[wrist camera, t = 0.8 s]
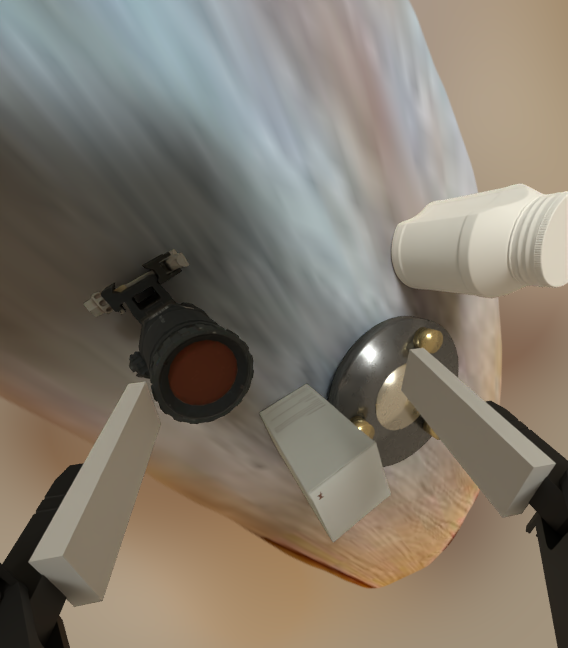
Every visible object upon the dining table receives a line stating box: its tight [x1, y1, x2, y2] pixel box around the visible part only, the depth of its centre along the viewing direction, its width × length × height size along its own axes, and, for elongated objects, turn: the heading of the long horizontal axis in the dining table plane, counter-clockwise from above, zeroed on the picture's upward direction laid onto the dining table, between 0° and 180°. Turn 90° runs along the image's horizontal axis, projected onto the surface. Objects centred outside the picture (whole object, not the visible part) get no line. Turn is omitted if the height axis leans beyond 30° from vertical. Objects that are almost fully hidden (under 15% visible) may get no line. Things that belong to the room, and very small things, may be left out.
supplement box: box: [259, 384, 391, 542], centre depth 29 cm, size 7×7×13 cm
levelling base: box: [328, 316, 458, 467], centre depth 37 cm, size 22×22×6 cm
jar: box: [391, 184, 568, 298], centre depth 30 cm, size 12×10×15 cm
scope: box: [84, 249, 254, 424], centre depth 20 cm, size 8×14×10 cm
